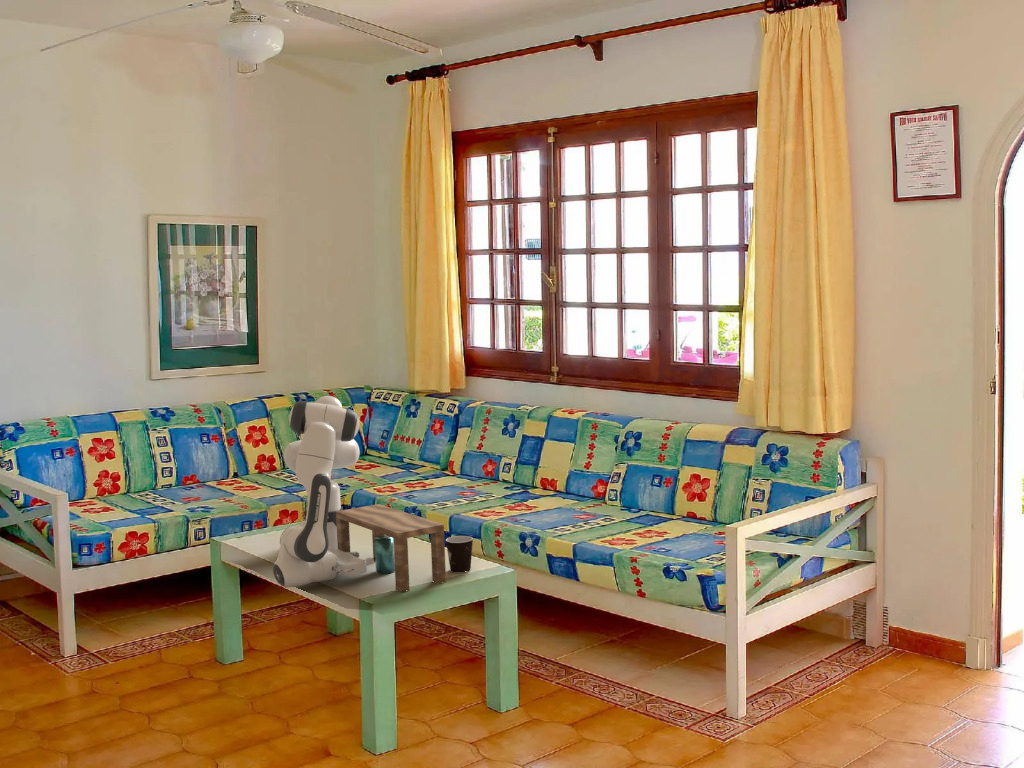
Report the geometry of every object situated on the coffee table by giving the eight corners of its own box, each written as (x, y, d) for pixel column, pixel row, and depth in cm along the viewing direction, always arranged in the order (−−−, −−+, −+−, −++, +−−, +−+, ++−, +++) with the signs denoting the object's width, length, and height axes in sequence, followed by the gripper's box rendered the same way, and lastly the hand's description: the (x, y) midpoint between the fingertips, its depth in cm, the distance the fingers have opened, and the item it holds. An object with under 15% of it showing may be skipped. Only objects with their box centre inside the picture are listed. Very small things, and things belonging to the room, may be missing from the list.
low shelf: (400, 592, 319) (398, 533, 317) (338, 565, 351) (335, 511, 350) (445, 581, 329) (443, 524, 327) (381, 556, 361) (378, 504, 359)
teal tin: (373, 573, 341) (371, 539, 339) (380, 568, 346) (378, 535, 345) (390, 574, 339) (388, 540, 338) (398, 569, 344) (396, 535, 343)
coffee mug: (448, 566, 346) (447, 536, 345) (474, 566, 346) (473, 535, 345) (444, 576, 334) (443, 545, 333) (472, 576, 334) (471, 544, 333)
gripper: (340, 562, 321) (381, 554, 329) (310, 549, 338) (349, 541, 346) (341, 583, 322) (382, 574, 330) (311, 568, 338) (350, 560, 346)
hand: (365, 557), depth 338 cm, fingers open, 8 cm apart
